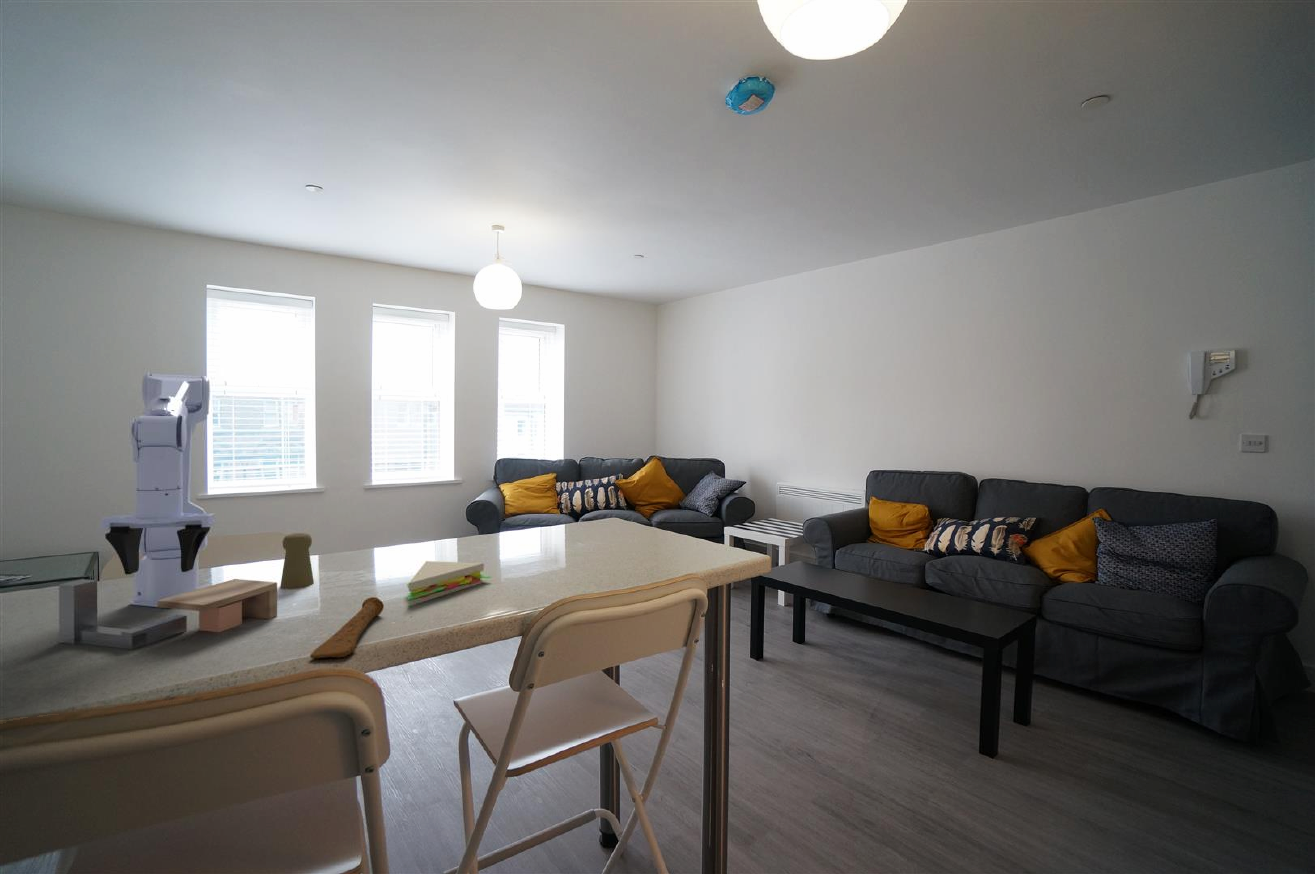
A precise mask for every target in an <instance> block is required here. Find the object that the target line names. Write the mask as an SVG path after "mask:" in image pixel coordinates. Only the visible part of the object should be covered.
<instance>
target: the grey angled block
mask: <svg viewBox="0 0 1315 874" xmlns="http://www.w3.org/2000/svg"><path fill="white" fill-rule="evenodd" d="M187 618H188V616H187V615H183V614H175V615H172V616H168V617H165V618H162V619H159V620H155V621H152V622H149V623H145V624H142V625H139V626H137V627H133V628H130V629H126V628H125V629H124V628H117V627H107V626H99V625H98V580H94V579H83V578H82V579H78V580H73V581H68V582H63V583H59V584H58V639H59V640H58V641H59V642H58V643H60V644H69V645H77V644H82V645H92V646H98V647H109V648H115V649H123V650H135V649H138V648H140V647H144V646H147V645H151V644H152V643H155V642H159V641H162V640H164V639H167V638H170V637H173V636H175V635H179V634H182V633H185V632H187V629H188V628H187V627H188V624H187V623H188V622H187V621H188V619H187Z"/></svg>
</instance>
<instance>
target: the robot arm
mask: <svg viewBox="0 0 1315 874" xmlns="http://www.w3.org/2000/svg"><path fill="white" fill-rule="evenodd" d="M141 384H142V385H141V393H142V394H141V395H142V401H143V402H144V403H143V404H144V410H143V411H142V415H139V417H138V418H132V421H131V425H130V444H131V446H132V453H133V454H132V456H133V461H134V462H135V514H127V515H126V514H125V515H108V516H105V517H102V518H101V530H103V531H105V530H107V531H109V532H107V533H105V535H104V537H105V539H106V541H108V542H109V544H110V545H111V547H112V548H113V549H114V550H115V552H116V554H117V556H118V558H119V560H120V562H121V566H122V568H123V571H124V574H125V575H132V574H134V579H133V580H134V584H133V585H134V591H133V592H134V594H133V595H134V600H131V601H129V602H128V603H129V605H131V606H132V605H133V606H143V607H150V608H151V607H152V608H153V607H154V608H158V607H157V601H158V600H161V599H165V598H169V597H172V596H176V595H179V594H183V593H187V592H190V591H194V590H197V589H199V553H200V551H203V550H205V549H206V548H207V546H208V536H209V535H208V533H209V531H210V530H211V527H212V526H215V513H207V512H206V511H205V509H204V508H202V507H201V506H199V505H196V504H195V503H193V502H191V500H190V499H191V481H192V480H191V477H192V476H191V475H192V473H191V472H192V449H193V434H194V432H195V428H196V426H197V424H198V423H201V422H204V421H206V420H207V419H208V415H209V413H210V411H209V408H210V399H211V398H210V396H211V394H210V392H211V391H210V387H211V386H210V379H209V378H208V377H207V376H206V375H201V376H200V375H183V374H182V375H181V374H180V375H179V374H162V373H161V374H160V373H159V374H158V373H151V372H147V373H146V374H144V375H143V377H142V382H141ZM140 555H142V556H143V557H142V558H141V559H140ZM160 608H162V609H164V608H163V607H160Z"/></svg>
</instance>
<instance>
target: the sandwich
mask: <svg viewBox="0 0 1315 874" xmlns="http://www.w3.org/2000/svg"><path fill="white" fill-rule="evenodd" d="M484 567H485V564H484V563H483V562H459V561H458V562H457V561H434V560H433V561H431V560H430V561H429V560H427V561H424V563H423V565H422V566H421V567H420V568H419V569H418V570H417V572H416V573H415V575H413V577H412V579H411V580H410V581H409V582H408V583H407V584H406V586H407V588H408V592H409V595H408V597H407V601H408V607H412V606H414V605H417V603H418V604H420V603H423V602H427V601H430V600H432V599H435V598H439V597H442V596H445V594H446V595H448V594H452V593H455V592H457V591H460V590H464V589H467V588H471V587H474V586H477V585H480V584H482V583H483V579H488V578H489V579H491V578H492V577H491V576H488V575H487V574H486V575H485V574H482V573H481V572H483V571H484V570H485V569H484Z"/></svg>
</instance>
